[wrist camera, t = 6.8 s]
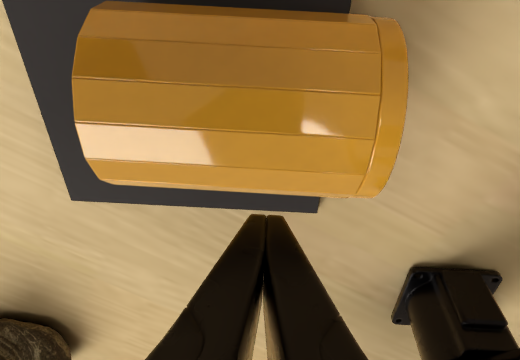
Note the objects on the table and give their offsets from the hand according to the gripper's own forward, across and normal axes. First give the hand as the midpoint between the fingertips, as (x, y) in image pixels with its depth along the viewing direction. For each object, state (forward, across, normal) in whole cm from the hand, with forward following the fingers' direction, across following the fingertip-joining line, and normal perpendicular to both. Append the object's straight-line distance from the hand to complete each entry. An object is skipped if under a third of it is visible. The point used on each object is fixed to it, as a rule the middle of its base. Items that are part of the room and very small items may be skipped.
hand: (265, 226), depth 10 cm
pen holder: (+7, -4, 0) cm, 9 cm away
